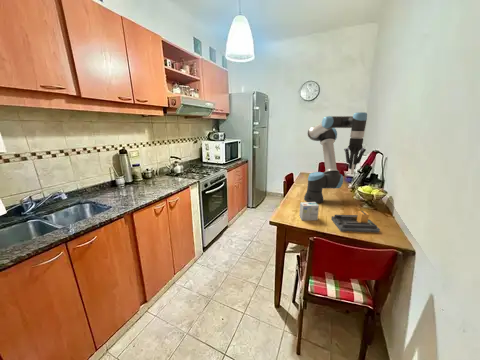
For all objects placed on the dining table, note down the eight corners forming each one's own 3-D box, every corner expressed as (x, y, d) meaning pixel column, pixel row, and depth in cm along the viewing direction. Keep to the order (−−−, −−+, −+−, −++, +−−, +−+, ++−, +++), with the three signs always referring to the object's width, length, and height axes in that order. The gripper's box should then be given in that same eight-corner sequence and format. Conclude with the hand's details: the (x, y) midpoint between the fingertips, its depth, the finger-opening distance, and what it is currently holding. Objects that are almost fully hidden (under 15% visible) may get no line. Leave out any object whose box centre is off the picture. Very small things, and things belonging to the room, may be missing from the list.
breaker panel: (331, 219, 134) (332, 213, 133) (365, 220, 132) (366, 214, 131) (340, 231, 120) (341, 224, 118) (379, 232, 118) (380, 225, 117)
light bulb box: (313, 216, 139) (315, 201, 136) (317, 220, 133) (319, 205, 130) (298, 216, 139) (299, 201, 136) (301, 220, 133) (303, 205, 130)
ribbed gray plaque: (334, 216, 133) (334, 214, 132) (366, 217, 131) (366, 215, 131) (343, 227, 119) (343, 224, 119) (379, 228, 118) (379, 226, 117)
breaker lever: (356, 220, 127) (358, 210, 125) (363, 220, 127) (365, 211, 125) (360, 223, 123) (362, 214, 121) (367, 224, 123) (369, 214, 121)
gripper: (348, 138, 125) (343, 174, 131) (370, 138, 124) (364, 175, 131) (343, 137, 132) (338, 172, 139) (364, 137, 131) (358, 172, 138)
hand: (351, 173), depth 135 cm, fingers closed
